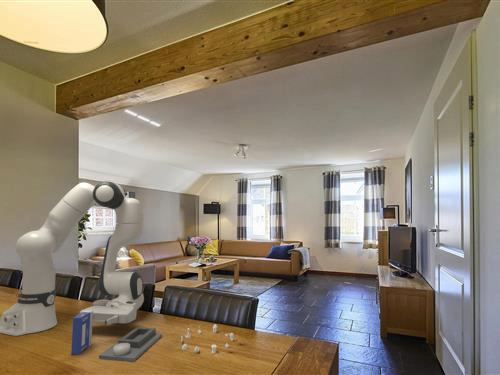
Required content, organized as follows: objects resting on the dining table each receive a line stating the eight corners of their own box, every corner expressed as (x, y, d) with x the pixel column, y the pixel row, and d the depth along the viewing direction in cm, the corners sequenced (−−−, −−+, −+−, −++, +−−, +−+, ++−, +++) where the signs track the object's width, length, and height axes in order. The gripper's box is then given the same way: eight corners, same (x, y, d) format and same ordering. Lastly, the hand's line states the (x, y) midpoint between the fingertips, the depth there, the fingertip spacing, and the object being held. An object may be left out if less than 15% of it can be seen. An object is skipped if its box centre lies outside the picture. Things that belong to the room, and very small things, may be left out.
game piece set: (202, 328, 123) (202, 318, 123) (244, 339, 113) (244, 328, 113) (166, 346, 106) (166, 335, 106) (212, 361, 96) (212, 348, 96)
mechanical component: (84, 313, 141) (103, 314, 139) (85, 303, 141) (104, 304, 139) (99, 306, 150) (117, 308, 148) (99, 297, 151) (117, 298, 149)
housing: (98, 358, 96) (99, 348, 97) (132, 334, 116) (132, 325, 116) (133, 361, 95) (134, 351, 95) (162, 336, 114) (162, 327, 114)
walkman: (79, 354, 99) (81, 316, 100) (71, 354, 99) (73, 316, 100) (91, 344, 107) (93, 309, 108) (84, 344, 107) (85, 309, 108)
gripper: (93, 300, 125) (68, 311, 111) (140, 303, 122) (120, 314, 108) (93, 316, 124) (67, 329, 111) (139, 319, 121) (119, 332, 108)
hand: (94, 321), depth 109 cm, fingers open, 8 cm apart
